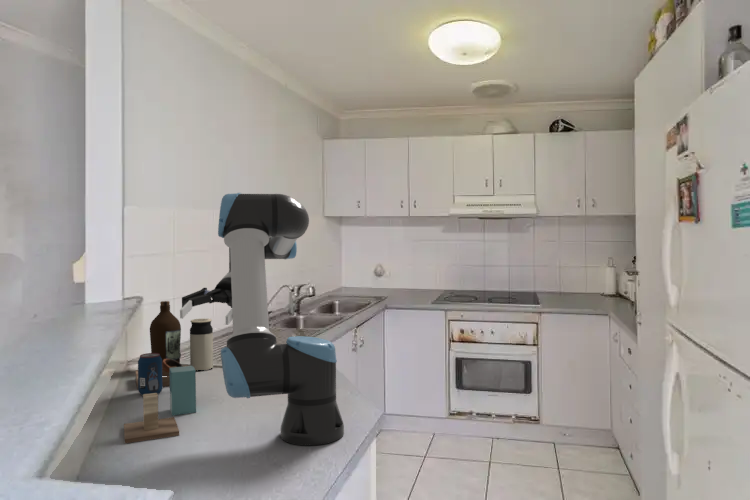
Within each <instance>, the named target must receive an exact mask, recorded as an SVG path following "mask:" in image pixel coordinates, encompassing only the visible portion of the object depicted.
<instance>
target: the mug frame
mask: <svg viewBox="0 0 750 500" xmlns="http://www.w3.org/2000/svg"><path fill="white" fill-rule="evenodd" d="M182 366H183V367H184V366H189V365H187V364H185V365H182ZM175 367H176V366H175ZM172 368H174V367H172ZM162 369H163V368H162ZM162 372H163V374H162V376H167V377H162V383H163V388H165V386H166V387H170V377H169V372H166V371H164V370H162ZM135 383H136V389H137V390H138V369H137V370H135Z"/></svg>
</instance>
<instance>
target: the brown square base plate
mask: <svg viewBox="0 0 750 500" xmlns="http://www.w3.org/2000/svg"><path fill="white" fill-rule="evenodd" d="M142 400H143V401H142V405H143V407H142V408H143V409H142V410H143V411H142V413H143V417H142V418H143V420H142V421H136V422H127V423H123V433H124V434H123V436H124V437H123V438H124V444H131V443H137V442H143V441H144V442H145V441H150V440H157V439H164V438H170V437H171V438H172V437H177V436H180V430H179V426H178V424H177V420H176V418H175V416H173V417H171V416H170V417H163V418H159V394H157V393H151V394H143V397H142Z"/></svg>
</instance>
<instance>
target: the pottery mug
mask: <svg viewBox="0 0 750 500" xmlns="http://www.w3.org/2000/svg"><path fill="white" fill-rule="evenodd" d="M167 362H168V363H169V365H167V364H166V363H167ZM175 365H176V367H183V366H184V365H182V364H181V362H180V363H179V362H177V361H175V360H172V359H164V360H163V362H162V368H163V369H162V370H164V371H166V372H169V368H172V367H170V366H175ZM162 374H163V372H162Z"/></svg>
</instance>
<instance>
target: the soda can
mask: <svg viewBox="0 0 750 500" xmlns="http://www.w3.org/2000/svg"><path fill="white" fill-rule="evenodd" d="M137 370H138V393H139V394H140V396H143V394H151V393H157V395H160V394H161V392H162V391H163V388H164V387H163V383H162V358H161V357H160V354H159V353H151V352H149V353H142V354H140V355H139V358H138V361H137Z"/></svg>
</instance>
